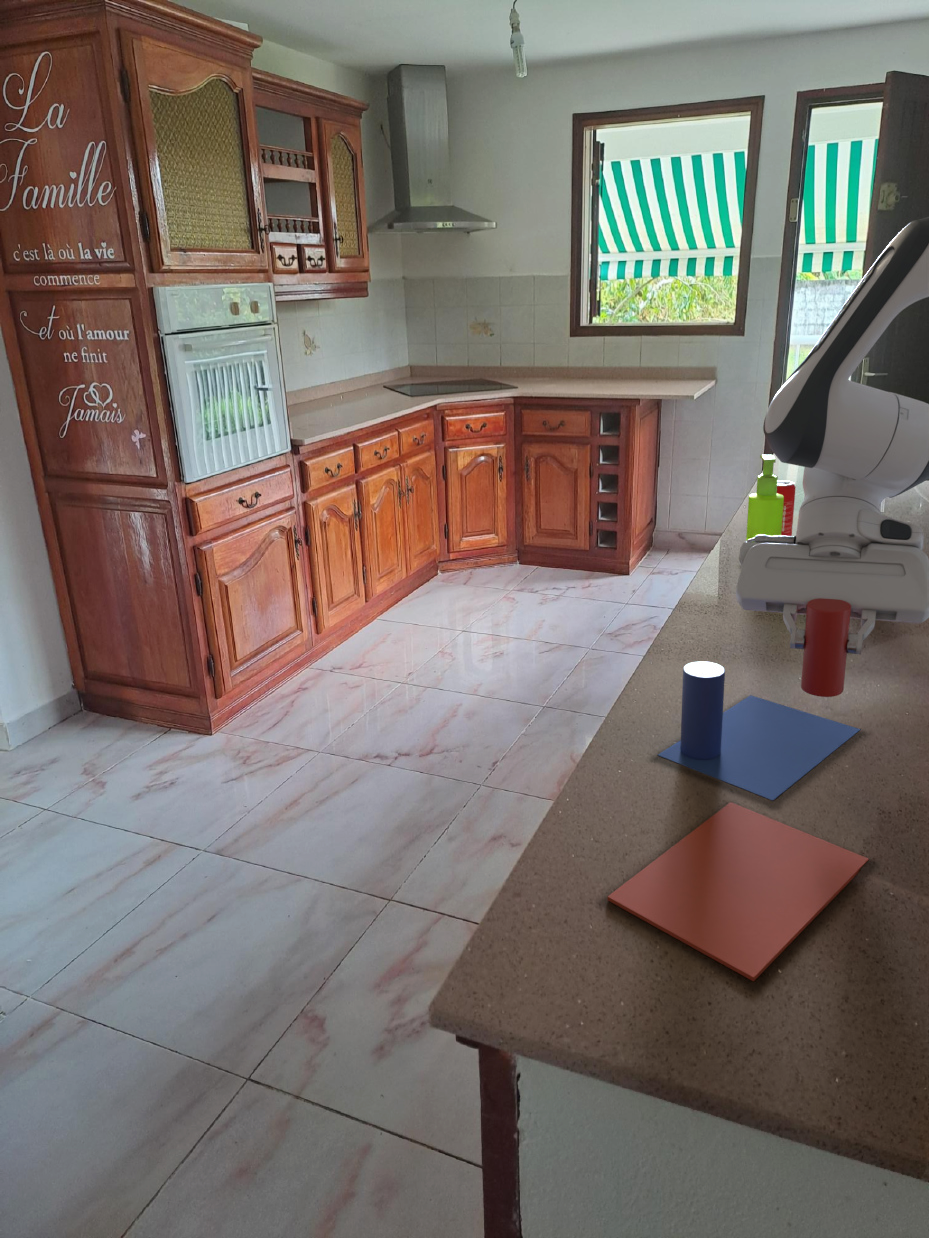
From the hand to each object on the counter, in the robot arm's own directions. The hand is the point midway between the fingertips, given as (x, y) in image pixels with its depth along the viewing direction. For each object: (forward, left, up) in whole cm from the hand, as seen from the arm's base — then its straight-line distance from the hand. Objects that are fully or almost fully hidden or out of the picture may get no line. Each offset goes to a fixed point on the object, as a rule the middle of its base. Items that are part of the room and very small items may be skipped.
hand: (825, 649), depth 96 cm
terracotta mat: (-7, +28, -11) cm, 31 cm away
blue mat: (+4, +5, -11) cm, 13 cm away
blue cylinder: (+8, +11, -11) cm, 17 cm away
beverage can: (+42, -69, -12) cm, 82 cm away
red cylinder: (0, -1, -5) cm, 5 cm away
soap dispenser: (+37, -54, -12) cm, 67 cm away
